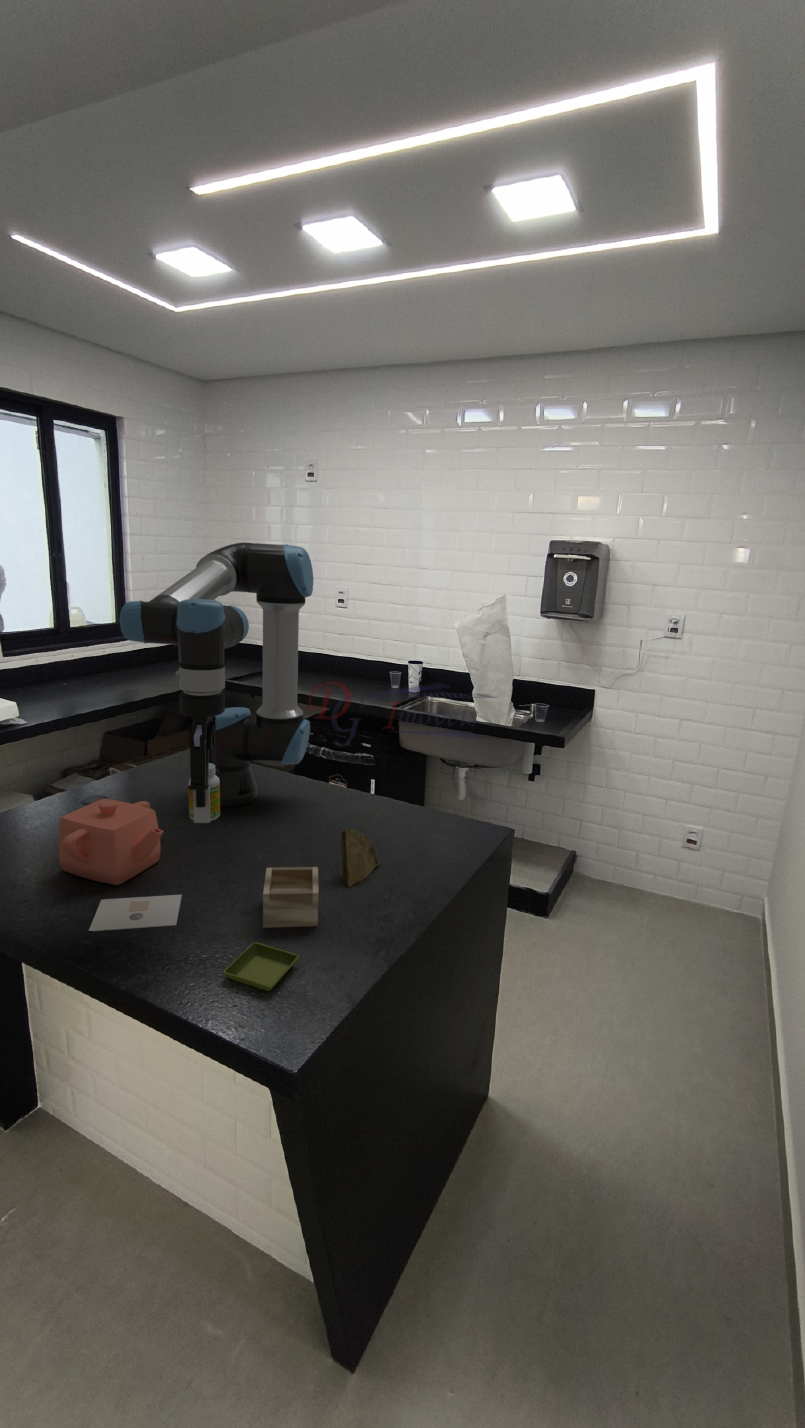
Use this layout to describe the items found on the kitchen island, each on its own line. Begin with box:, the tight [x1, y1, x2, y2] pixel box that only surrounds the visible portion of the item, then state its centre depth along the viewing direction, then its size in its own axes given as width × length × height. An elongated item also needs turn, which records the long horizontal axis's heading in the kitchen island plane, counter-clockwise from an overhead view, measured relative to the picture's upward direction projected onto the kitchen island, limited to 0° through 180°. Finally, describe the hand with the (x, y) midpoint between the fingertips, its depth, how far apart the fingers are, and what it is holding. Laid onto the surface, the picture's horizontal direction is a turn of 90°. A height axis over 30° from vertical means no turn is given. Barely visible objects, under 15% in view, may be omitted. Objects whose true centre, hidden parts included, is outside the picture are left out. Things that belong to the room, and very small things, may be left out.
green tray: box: [222, 941, 300, 992], centre depth 101 cm, size 9×9×2 cm
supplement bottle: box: [188, 763, 221, 822], centre depth 116 cm, size 5×5×10 cm
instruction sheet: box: [88, 894, 183, 932], centre depth 115 cm, size 10×14×1 cm
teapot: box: [58, 798, 165, 886], centre depth 127 cm, size 20×22×14 cm
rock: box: [340, 829, 380, 888], centre depth 132 cm, size 11×9×10 cm
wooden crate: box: [262, 866, 320, 929], centre depth 117 cm, size 10×10×6 cm
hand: (204, 814), depth 117 cm, fingers closed on supplement bottle, 5 cm apart
